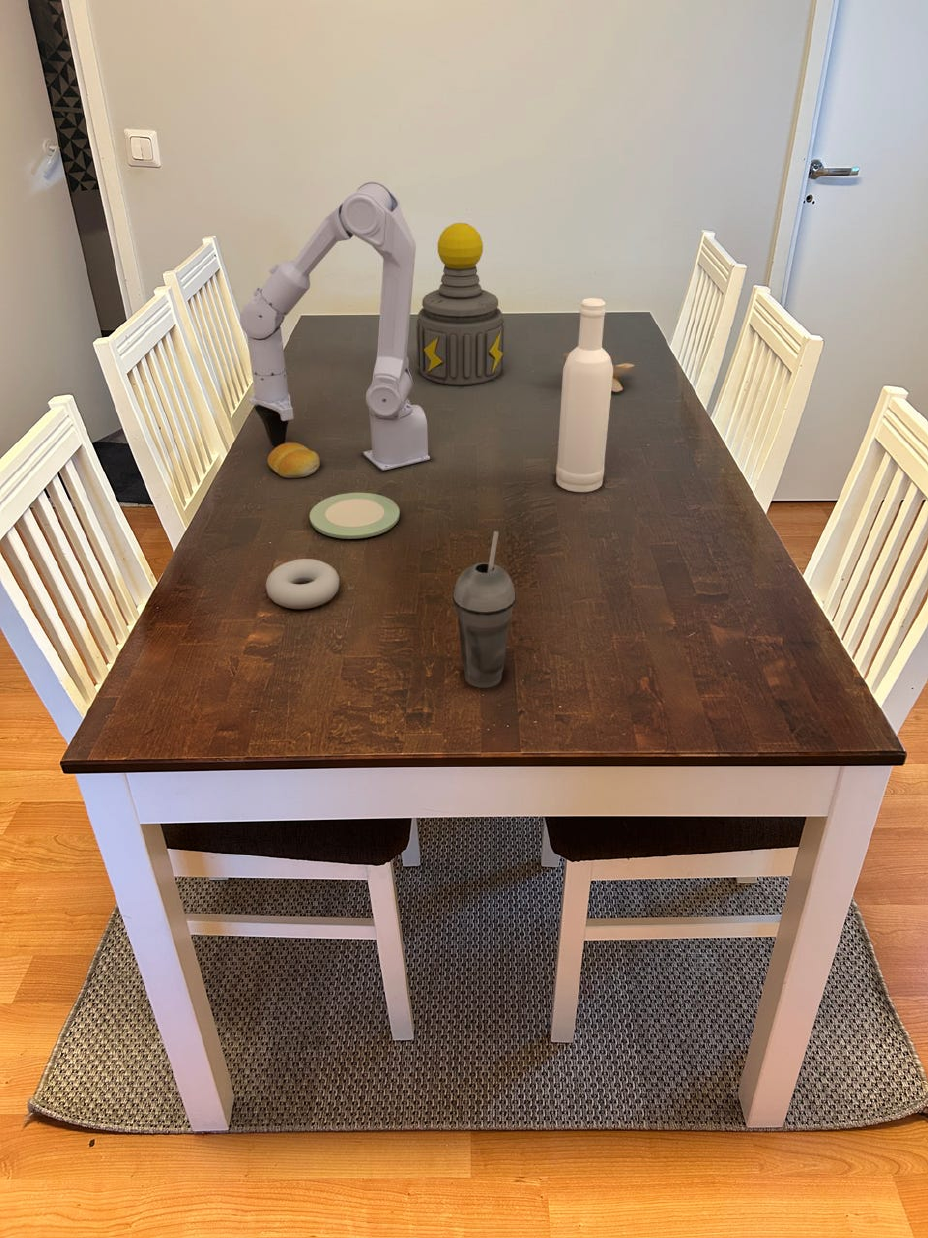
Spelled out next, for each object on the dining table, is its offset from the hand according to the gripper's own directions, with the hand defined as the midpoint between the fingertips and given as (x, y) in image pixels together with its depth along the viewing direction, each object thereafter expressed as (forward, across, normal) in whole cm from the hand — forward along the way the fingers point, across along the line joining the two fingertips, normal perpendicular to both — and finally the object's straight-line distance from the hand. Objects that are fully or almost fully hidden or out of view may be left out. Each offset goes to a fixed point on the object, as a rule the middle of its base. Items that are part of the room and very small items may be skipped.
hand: (278, 444), depth 165 cm
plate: (+1, +30, +2) cm, 30 cm away
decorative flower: (+2, +2, +70) cm, 70 cm away
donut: (+2, +46, -13) cm, 48 cm away
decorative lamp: (+2, -20, +48) cm, 52 cm away
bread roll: (+2, +8, 0) cm, 8 cm away
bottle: (+2, +36, +40) cm, 54 cm away
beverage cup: (+2, +74, -1) cm, 74 cm away
